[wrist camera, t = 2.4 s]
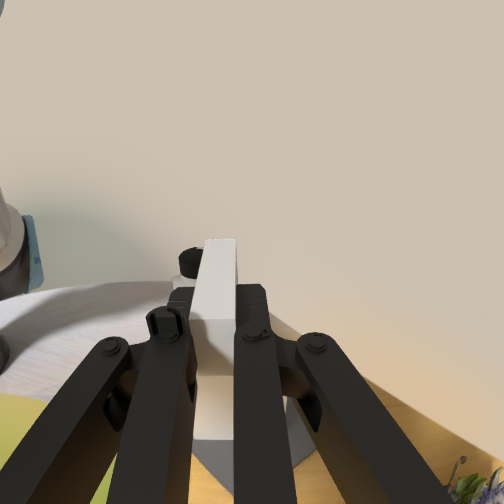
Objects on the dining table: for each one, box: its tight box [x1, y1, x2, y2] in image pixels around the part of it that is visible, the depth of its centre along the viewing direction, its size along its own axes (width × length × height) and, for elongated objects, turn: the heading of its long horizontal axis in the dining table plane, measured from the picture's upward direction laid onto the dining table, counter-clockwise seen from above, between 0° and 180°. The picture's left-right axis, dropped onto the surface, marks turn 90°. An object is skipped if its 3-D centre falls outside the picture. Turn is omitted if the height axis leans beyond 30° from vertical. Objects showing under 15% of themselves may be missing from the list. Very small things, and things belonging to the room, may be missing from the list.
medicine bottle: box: [172, 247, 204, 290], centre depth 52 cm, size 7×7×12 cm
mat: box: [192, 397, 317, 497], centre depth 38 cm, size 26×20×1 cm
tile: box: [193, 370, 287, 440], centre depth 29 cm, size 3×10×13 cm, turn 93°
